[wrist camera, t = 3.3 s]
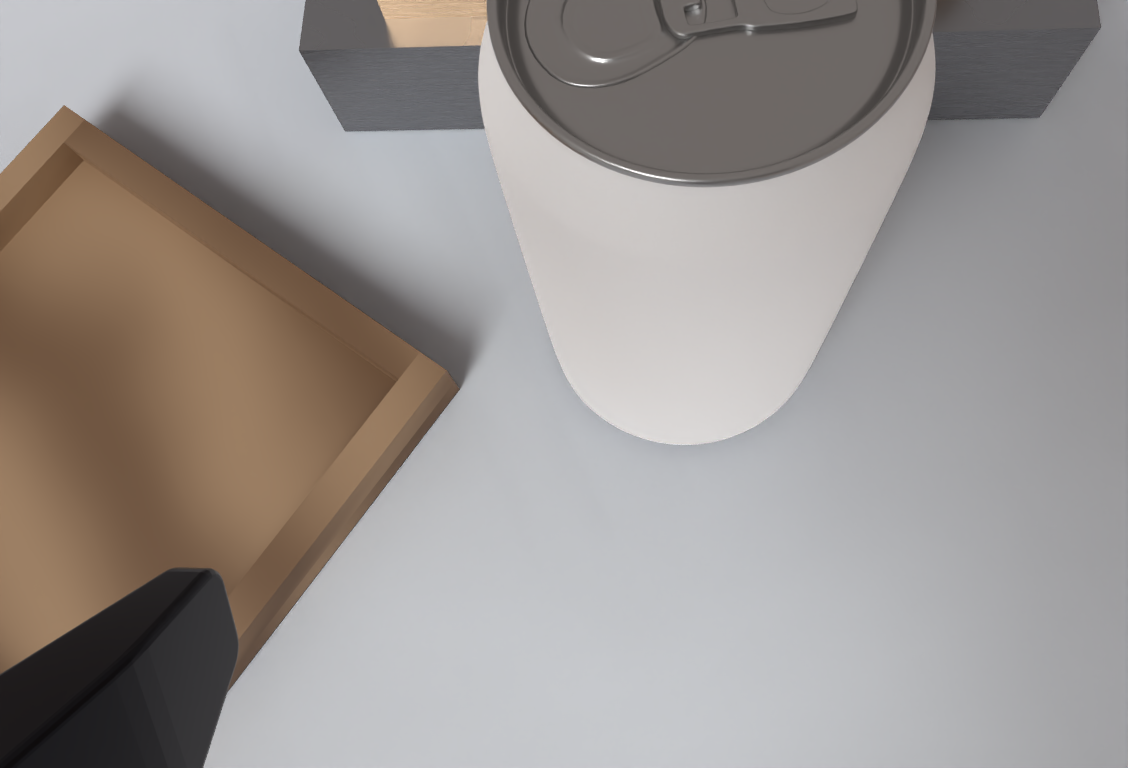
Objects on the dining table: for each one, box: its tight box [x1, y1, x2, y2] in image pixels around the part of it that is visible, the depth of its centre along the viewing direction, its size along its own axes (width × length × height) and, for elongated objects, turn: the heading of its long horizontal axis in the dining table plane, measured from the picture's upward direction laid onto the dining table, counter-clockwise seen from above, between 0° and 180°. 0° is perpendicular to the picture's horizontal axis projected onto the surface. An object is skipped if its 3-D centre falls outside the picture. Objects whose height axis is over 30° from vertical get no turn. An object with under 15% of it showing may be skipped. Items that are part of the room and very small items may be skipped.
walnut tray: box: [0, 106, 459, 692], centre depth 23 cm, size 13×13×2 cm
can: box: [478, 0, 937, 445], centre depth 18 cm, size 6×6×12 cm
